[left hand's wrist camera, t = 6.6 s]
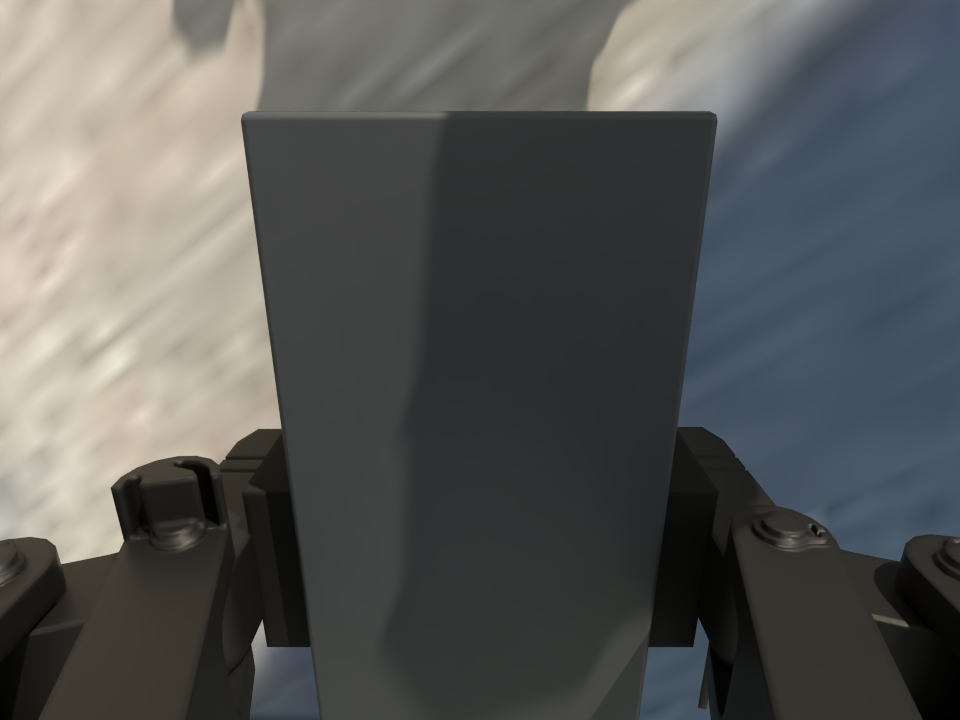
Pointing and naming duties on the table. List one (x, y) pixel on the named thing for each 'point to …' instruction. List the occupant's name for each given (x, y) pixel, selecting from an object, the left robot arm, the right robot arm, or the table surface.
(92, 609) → the left robot arm
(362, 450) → the beam
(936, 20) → the table surface
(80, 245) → the table surface
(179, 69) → the table surface
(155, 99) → the table surface
